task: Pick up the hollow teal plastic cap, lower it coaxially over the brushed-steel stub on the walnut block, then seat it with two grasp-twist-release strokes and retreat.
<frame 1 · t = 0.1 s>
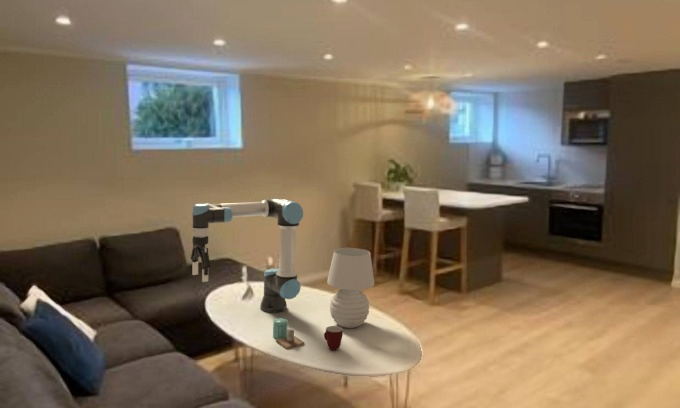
hand: (200, 278, 254), 28 cm above the table, fingers open, 13 cm apart
cap: (280, 336, 257), on the table
post base: (290, 343, 249), on the table
mug: (331, 348, 245), on the table
table lamp: (348, 324, 277), on the table
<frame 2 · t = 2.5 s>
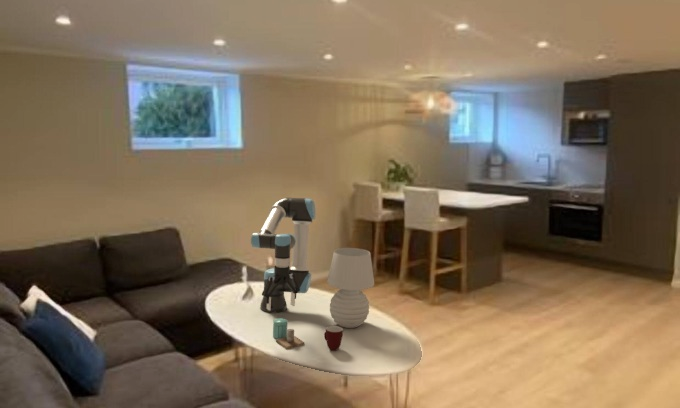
hand: (280, 307, 255), 15 cm above the table, fingers open, 13 cm apart
nothing on the table moved.
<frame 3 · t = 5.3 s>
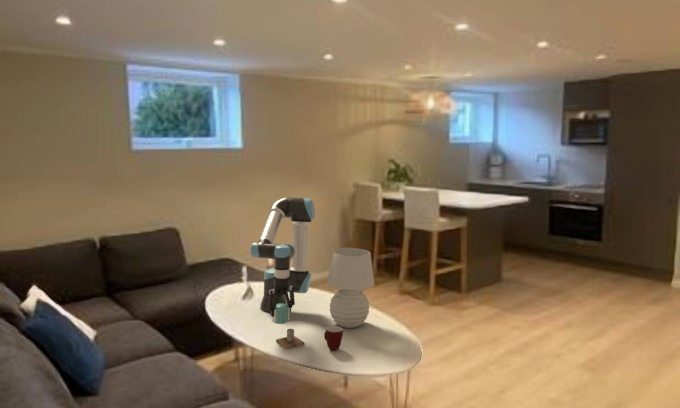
hand: (280, 320, 257), 8 cm above the table, fingers closed on cap, 7 cm apart
cap: (280, 321, 257), point 8 cm above the table, touching gripper
everything else where it was.
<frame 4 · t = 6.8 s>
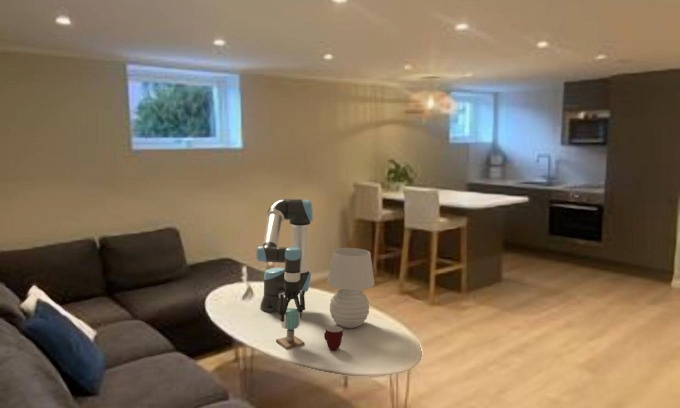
hand: (290, 326, 248), 9 cm above the table, fingers closed on cap, 7 cm apart
cap: (290, 326, 248), point 8 cm above the table, touching gripper
everything else where it was.
when the fingers open (3 cm above the table, at t = 8.4 s): cap drops 1 cm, resting on post base.
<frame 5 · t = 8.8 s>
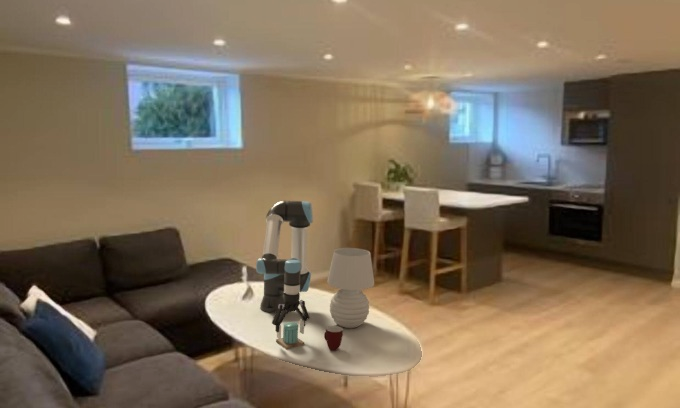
hand: (290, 335, 249), 4 cm above the table, fingers open, 12 cm apart
cap: (290, 340, 249), point 1 cm above the table, touching post base
everything else where it was.
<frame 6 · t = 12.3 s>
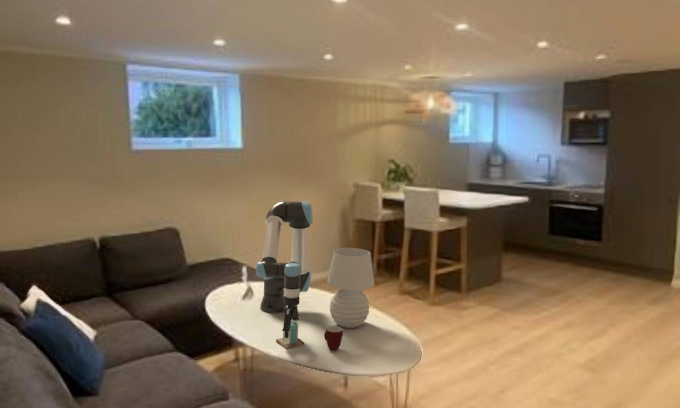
hand: (290, 338, 249), 2 cm above the table, fingers open, 13 cm apart
nothing on the table moved.
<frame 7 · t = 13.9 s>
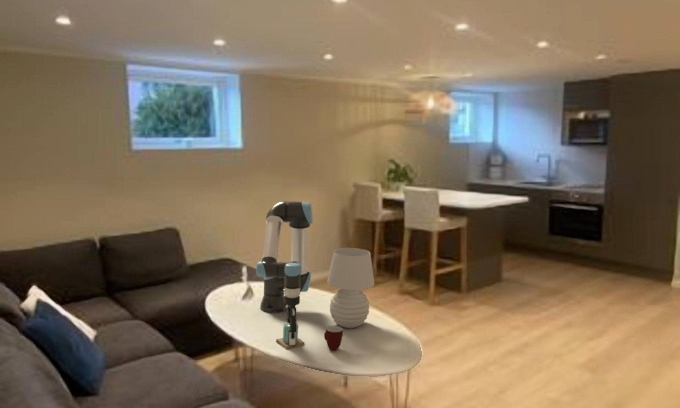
hand: (290, 340, 249), 1 cm above the table, fingers open, 9 cm apart
nothing on the table moved.
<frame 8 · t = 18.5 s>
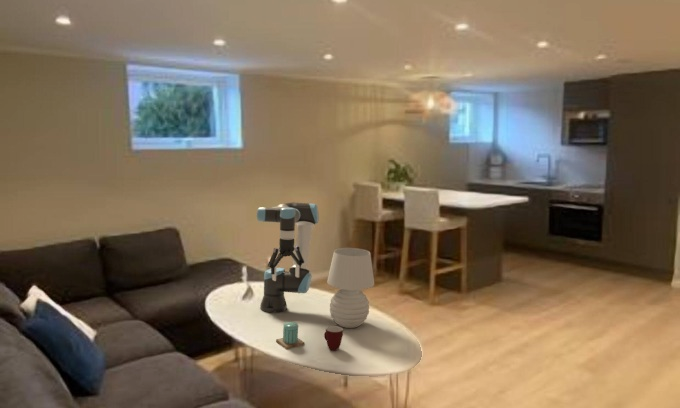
hand: (285, 278, 264), 27 cm above the table, fingers open, 13 cm apart
nothing on the table moved.
at the end: cap 0.1 cm off-centre on the post base, point 1.2 cm above the post base's base; cap tilted 0°; the gripper is holding nothing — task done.
